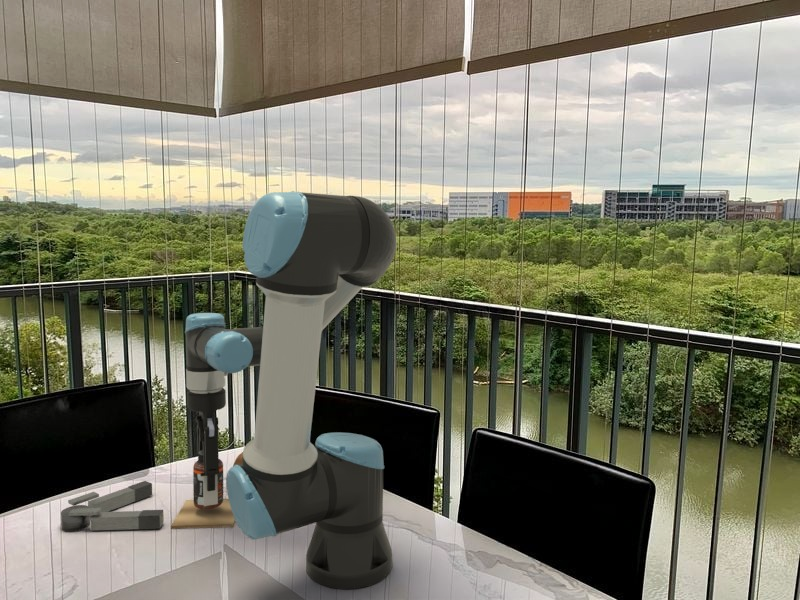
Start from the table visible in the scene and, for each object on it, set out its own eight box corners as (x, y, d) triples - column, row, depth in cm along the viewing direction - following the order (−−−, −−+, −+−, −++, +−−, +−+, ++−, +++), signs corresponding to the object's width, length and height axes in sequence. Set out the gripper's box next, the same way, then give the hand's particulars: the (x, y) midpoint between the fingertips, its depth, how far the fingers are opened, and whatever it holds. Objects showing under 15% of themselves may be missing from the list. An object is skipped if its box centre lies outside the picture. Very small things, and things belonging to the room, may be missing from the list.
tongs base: (159, 530, 119) (159, 511, 118) (55, 533, 117) (54, 514, 116) (167, 517, 124) (167, 499, 124) (68, 520, 122) (67, 501, 122)
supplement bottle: (204, 513, 121) (203, 458, 120) (187, 505, 125) (186, 452, 124) (229, 503, 126) (228, 450, 125) (212, 495, 130) (211, 444, 129)
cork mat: (232, 526, 120) (232, 524, 120) (170, 528, 119) (170, 525, 119) (242, 501, 132) (242, 498, 132) (186, 502, 131) (186, 500, 131)
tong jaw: (74, 524, 120) (74, 503, 120) (68, 520, 122) (67, 499, 121) (152, 495, 134) (151, 476, 134) (145, 492, 136) (144, 473, 135)
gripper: (233, 398, 116) (235, 513, 119) (218, 377, 133) (219, 478, 136) (192, 402, 113) (195, 520, 115) (182, 380, 130) (184, 484, 132)
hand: (208, 497), depth 125 cm, fingers closed on supplement bottle, 6 cm apart
